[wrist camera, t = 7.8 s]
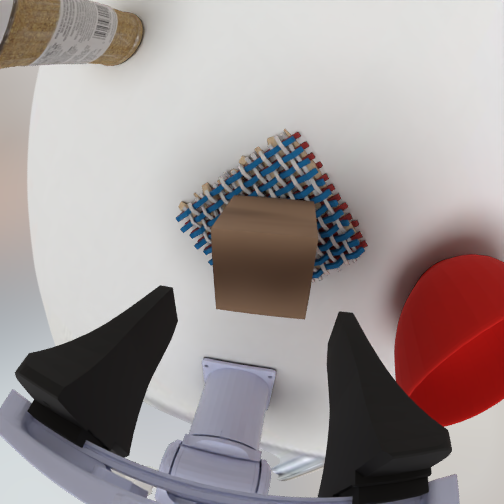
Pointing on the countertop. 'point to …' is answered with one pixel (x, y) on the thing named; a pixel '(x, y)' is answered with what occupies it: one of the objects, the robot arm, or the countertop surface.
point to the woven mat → (328, 224)
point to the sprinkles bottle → (65, 33)
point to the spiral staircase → (136, 482)
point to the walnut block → (264, 256)
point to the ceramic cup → (453, 339)
